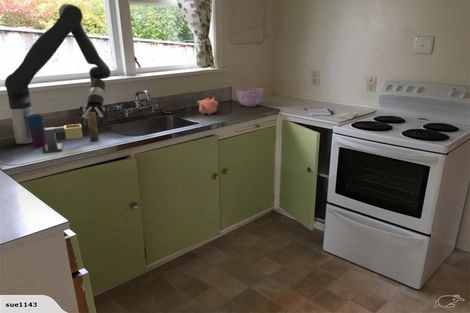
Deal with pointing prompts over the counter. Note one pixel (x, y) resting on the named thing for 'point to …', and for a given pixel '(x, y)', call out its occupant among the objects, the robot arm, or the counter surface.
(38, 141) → the cup
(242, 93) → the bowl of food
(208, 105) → the orange lumpy ball
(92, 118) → the rail post
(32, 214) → the counter surface
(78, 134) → the cup bracket
